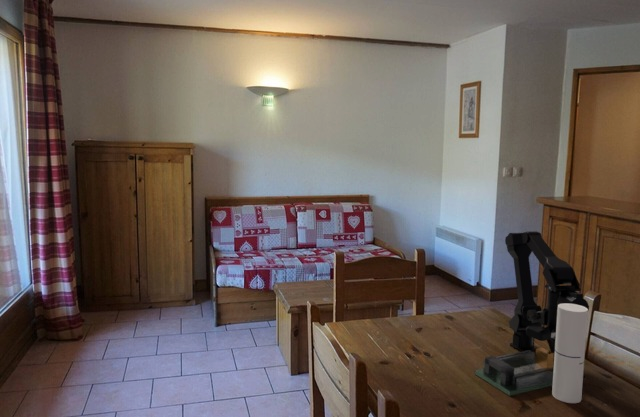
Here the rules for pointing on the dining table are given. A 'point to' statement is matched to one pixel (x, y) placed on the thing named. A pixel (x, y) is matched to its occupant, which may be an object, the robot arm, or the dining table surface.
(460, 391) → the dining table surface
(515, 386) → the green plate fixture
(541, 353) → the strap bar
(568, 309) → the cylindrical container
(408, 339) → the dining table surface
